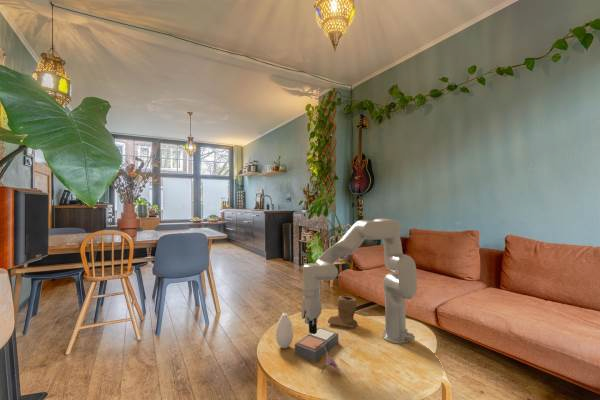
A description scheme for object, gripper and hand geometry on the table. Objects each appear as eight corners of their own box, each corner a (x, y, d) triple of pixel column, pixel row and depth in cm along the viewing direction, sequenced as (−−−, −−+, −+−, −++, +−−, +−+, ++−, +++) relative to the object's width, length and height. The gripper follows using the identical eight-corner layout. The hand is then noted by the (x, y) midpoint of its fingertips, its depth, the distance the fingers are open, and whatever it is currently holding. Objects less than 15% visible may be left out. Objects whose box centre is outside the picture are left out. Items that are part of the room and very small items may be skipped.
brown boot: (359, 322, 155) (359, 295, 155) (354, 331, 144) (354, 302, 144) (333, 317, 161) (333, 291, 161) (327, 326, 150) (327, 298, 150)
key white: (334, 338, 131) (334, 333, 131) (326, 345, 125) (326, 339, 125) (319, 333, 136) (319, 328, 136) (310, 340, 130) (310, 334, 130)
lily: (336, 388, 101) (347, 362, 103) (308, 370, 105) (319, 345, 107) (338, 379, 112) (348, 356, 114) (313, 363, 116) (323, 340, 118)
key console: (338, 343, 132) (338, 333, 132) (315, 362, 116) (315, 352, 116) (319, 336, 138) (318, 327, 138) (294, 354, 122) (294, 344, 122)
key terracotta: (324, 346, 124) (324, 341, 124) (314, 354, 118) (314, 348, 118) (308, 341, 129) (308, 336, 129) (298, 348, 122) (298, 343, 123)
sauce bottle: (282, 341, 134) (281, 304, 134) (296, 345, 130) (295, 307, 130) (272, 349, 127) (272, 310, 127) (287, 353, 123) (287, 313, 123)
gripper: (313, 286, 132) (315, 324, 132) (294, 295, 120) (296, 337, 120) (327, 288, 127) (328, 328, 127) (309, 298, 115) (310, 342, 115)
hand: (312, 332), depth 123 cm, fingers closed
